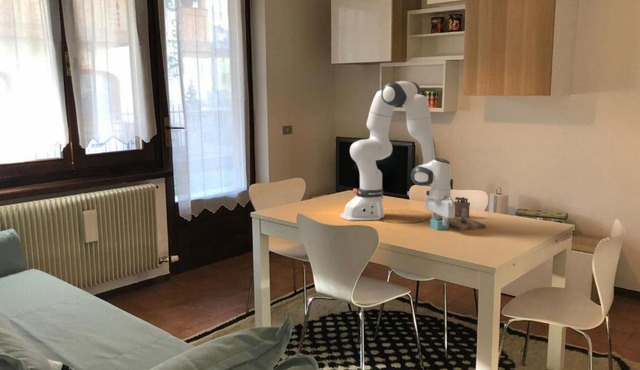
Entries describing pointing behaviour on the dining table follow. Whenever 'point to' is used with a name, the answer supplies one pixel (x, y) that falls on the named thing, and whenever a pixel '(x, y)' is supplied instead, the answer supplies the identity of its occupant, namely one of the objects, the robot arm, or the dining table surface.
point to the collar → (438, 224)
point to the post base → (466, 226)
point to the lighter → (461, 206)
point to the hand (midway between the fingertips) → (439, 223)
